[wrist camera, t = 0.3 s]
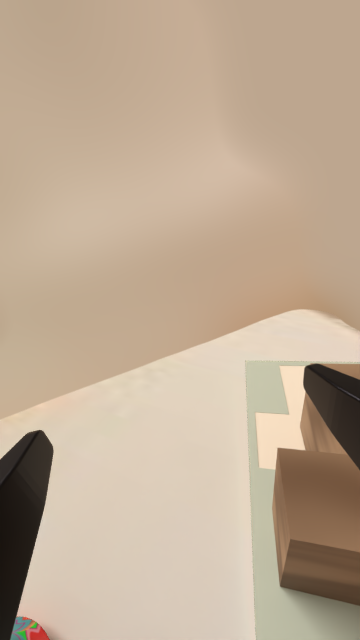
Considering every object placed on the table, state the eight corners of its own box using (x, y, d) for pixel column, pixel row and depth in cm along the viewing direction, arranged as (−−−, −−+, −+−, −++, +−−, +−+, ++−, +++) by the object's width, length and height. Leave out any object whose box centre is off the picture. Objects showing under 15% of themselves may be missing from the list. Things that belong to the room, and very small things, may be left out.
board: (582, 751, 10) (601, 753, 9) (256, 649, 13) (256, 647, 13) (358, 368, 28) (360, 362, 28) (245, 366, 32) (245, 360, 31)
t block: (495, 638, 12) (626, 602, 8) (279, 586, 14) (290, 538, 10) (384, 432, 21) (416, 364, 17) (263, 423, 23) (265, 362, 19)
